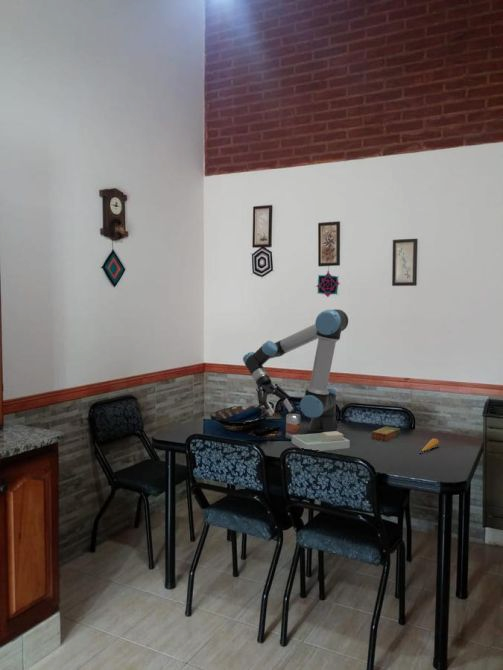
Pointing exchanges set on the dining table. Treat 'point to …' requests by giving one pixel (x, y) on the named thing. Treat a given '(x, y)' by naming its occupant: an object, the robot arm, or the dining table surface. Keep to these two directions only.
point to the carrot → (431, 444)
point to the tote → (318, 442)
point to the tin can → (292, 425)
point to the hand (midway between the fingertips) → (282, 412)
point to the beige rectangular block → (332, 436)
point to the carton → (385, 433)
